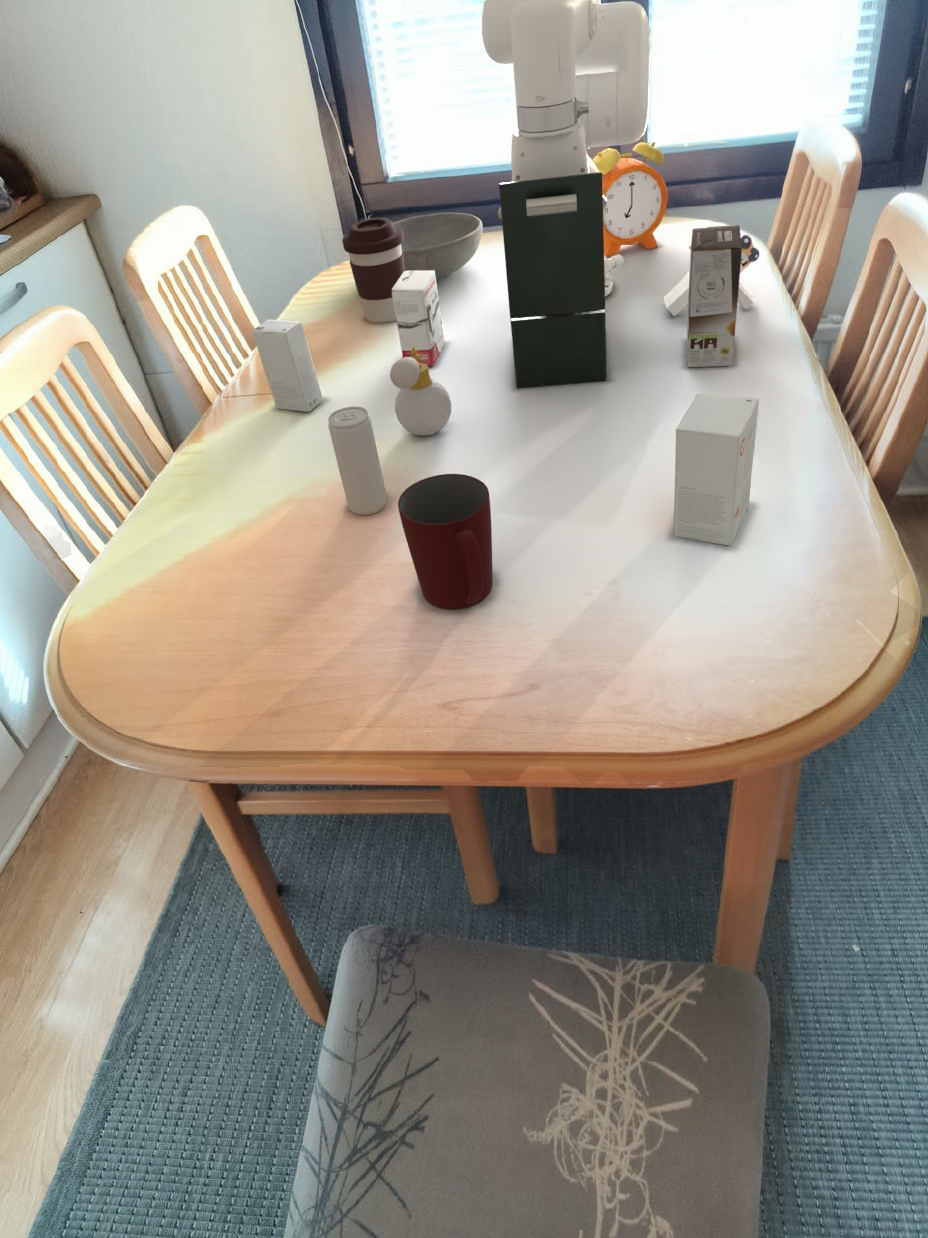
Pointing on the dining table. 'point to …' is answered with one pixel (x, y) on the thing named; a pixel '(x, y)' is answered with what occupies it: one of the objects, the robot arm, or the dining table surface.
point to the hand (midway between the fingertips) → (554, 262)
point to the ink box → (419, 315)
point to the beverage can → (357, 460)
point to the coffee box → (713, 295)
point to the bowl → (439, 241)
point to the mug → (449, 538)
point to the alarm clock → (631, 197)
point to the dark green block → (554, 244)
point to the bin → (559, 348)
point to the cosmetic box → (288, 365)
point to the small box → (714, 467)
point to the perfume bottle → (419, 397)
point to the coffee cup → (375, 265)
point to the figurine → (681, 291)
